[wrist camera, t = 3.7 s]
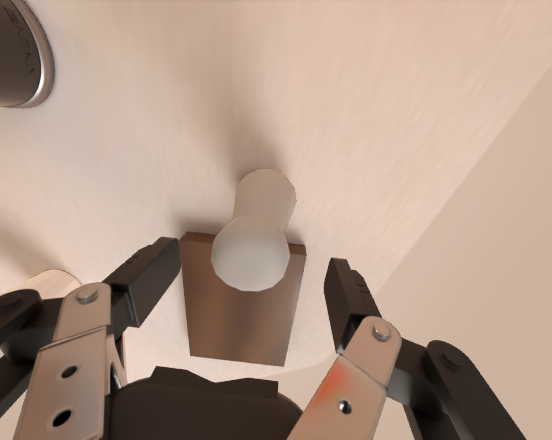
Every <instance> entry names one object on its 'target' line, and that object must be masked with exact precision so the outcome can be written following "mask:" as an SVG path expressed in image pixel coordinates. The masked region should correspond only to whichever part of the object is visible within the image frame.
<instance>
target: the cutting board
mask: <svg viewBox="0 0 552 440" xmlns="http://www.w3.org/2000/svg"><path fill="white" fill-rule="evenodd" d="M216 236H217V235H211V234H202V233H194V232H186V233H185V234H184V235H183V236H182V238H181V239H180V240H179V243H180V254H181V264H182V275H183V285H184V296H185V306H186V317H187V327H188V338H189V348H190V356H195V357H204V358H213V359H221V360H230V361H238V362H247V363H256V364H264V365H273V366H281V367H284V364H285V359H286V354H287V349H288V344H289V339H290V334H291V329H292V325H293V320H294V315H295V310H296V305H297V300H298V295H299V290H300V285H301V280H302V276H303V271H304V266H305V261H306V256H307V255H306V248H305V246H304V245H295V244H288V247H289V253H290V259H289V262H288V265H287V268H286V271H285V274H284V277H283V278H282V279H281V280H280V281H279V282H278V283H276V284H275V285H274V286H273V287H271V288H268V289H264V290H261V291H241V290H239V289H237V288H234V287H232V286H230V285H227V284H226V283H225V282H224V281H223V280H222V279H221V278H220V277H219V276H217V275H216V273H215V270H214V268H213V265H212V263H211V254H212V246H213V242H214V239H215V237H216Z"/></svg>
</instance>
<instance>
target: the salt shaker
mask: <svg viewBox="0 0 552 440" xmlns="http://www.w3.org/2000/svg"><path fill="white" fill-rule="evenodd" d="M296 201H297V200H296V194H295V189H294V187H293V185H292V184H291V182H290V181H289V180H288V178H287V177H286V176H285V175H283V174H282V173H280V172H278V171H276V170H274V169H258V170H256V171H253V172H251V173H249V174H247V175H245V177H244V178H243V179H242V181H241V182H240V183H239V184H238V186H237V191H236V197H235V205H234V212H233V219H232V221H229V222H228V223H227V224H226V225H225V226H224V227H223V228H222V230H221V231H220V232H219V233H218V235H217V236H216V237H215V239H214V242H213V246H212V254H211V263H212V265H213V268H214V270H215V273H216V275H217V276H219V277H220V278H221V279H222V280H223V281H224V282H225V283H226V284H227V285H230V286H232V287H234V288H237V289H239V290H241V291H261V290H264V289H268V288H271V287H273V286H274V285H275V284H276V283H278V282H279V281H280V280H281V279H282V278H283V277H284V274H285V271H286V268H287V265H288V262H289V259H290V253H289V247H288V243H287V238H286V236H285V234H284V231H285V229H286V226H287V224H288V222H289V220H290V218H291V215H292V213H293V211H294V208H295V204H296Z"/></svg>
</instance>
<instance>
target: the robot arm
mask: <svg viewBox="0 0 552 440" xmlns="http://www.w3.org/2000/svg"><path fill="white" fill-rule="evenodd" d="M53 81H54V63H53V57H52V53H51V50H50V46H49V44H48V41H47V38H46V36H45V34H44V32H43V30H42V28H41V26H40V24H39V23H38V21H37V19H36V18H35V16H34V15H33V14H32V12H31V11H30V9H29V8H28V7H27V6H26V4H25V3H24V2H23V1H22V0H0V106H1V107H8V108H30V107H34V106H37V105H39V104H40V103H42V102H43V101H44V100H45V99H46V98H47V97H48V95H49V93H50V91H51V89H52V86H53ZM180 268H181V258H180V248H179V241H178V239H177V238H169V237H160V238H159V239H158V240H157V241H156V242H155V243H153V244H152V245H148V246H146V247H144V248H142V249H140V250H138V251H137V252H136V253H135V254H134V255H132V257H131V258H129V259H128V260H127V261H125V263H123V264H122V265H121V266H120V267H118V268H117V269H116V270H115V271H114V272H113V273H111V274H110V275H109V276H108V277H107V278H106V279H104V280H103V281H102V282H96V283H90V284H86V285H83V286H81V287H78V288H76V289H74V290H73V291H71V292H70V293H69V294H67V295H66V296H65V297H60V298H51V299H42V298H41V296H40V294H39V292H38V291H37V290H35V289H21V290H16V291H12V292H9V293H6V294H3V295H1V296H0V349H1V350H2V352H3V353H4V356H3V357H1V358H0V418H1V416H3V415H4V413H5V412H6V411H7V410H8V409H9V408H10V407H11V406H12V405H13V404H14V403H15V402H16V400H17V399H18V398H19V397H20V396H21V395H22V394H23V393H24V392H25V391H26V389H27V392H26V396H25V399H24V403H23V406H22V410H21V413H20V416H19V420H18V423H17V427H16V430H15V434H14V437H13V440H373V437H374V434H375V431H376V427H377V425H378V422H379V418H380V415H381V412H382V409H383V406H384V403H385V400H386V397H389V398H391V399H393V400H395V401H397V402H400V403H401V404H403V407H404V410H405V413H406V416H407V419H408V422H409V425H410V428H411V430H412V433H413V436H414V439H415V440H526V438H525V437H524V435H523V434H522V432H521V431H520V430H519V428H518V427H517V425H516V424H515V422H514V421H513V420H512V418H511V417H510V415H509V414H508V412H507V411H506V410H505V408H504V407H503V405H502V404H501V403H500V401H499V400H498V398H497V397H496V395H495V394H494V392H493V391H492V390H491V388H490V387H489V385H488V384H487V382H486V381H485V380H484V378H483V377H482V375H481V374H480V372H479V371H478V370H477V368H476V367H475V365H474V364H473V363H472V361H471V360H470V359H469V358H468V357H467V356H466V355H465V354H464V353H463V352H462V351H460V350H459V349H458V348H456V347H454V346H453V345H451V344H449V343H446V342H444V341H439V340H433V341H431V342H429V344H428V345H427V347H423V346H421V345H419V344H416V343H413V342H411V341H408V340H406V339H404V338H402V337H401V335H400V333H399V332H398V330H397V329H396V328H395V327H394V326H393V325H392V324H391V323H389V322H388V321H386V320H384V319H382V317H381V314H380V312H379V310H378V308H377V306H376V304H375V301H374V299H373V297H372V295H371V294H370V291H369V289H368V287H367V284H366V282H365V280H364V278H363V277H362V276H361V275H360V274H359V273H358V272H357V271H356V270H351V269H350V266H349V264H348V261H347V260H346V259H339V258H331V259H330V262H329V266H328V270H327V274H326V277H325V282H324V295H325V300H326V305H327V310H328V315H329V320H330V325H331V330H332V335H333V340H334V345H335V350H336V353H338V354H339V356H338V357H337V359H336V360H335V362H334V363H333V365H332V367H331V368H330V370H329V371H328V373H327V375H326V377H325V378H324V380H323V381H322V383H321V384H320V386H319V388H318V389H317V391H316V393H315V394H314V396H313V397H312V399H311V401H310V402H309V404H308V406H307V407H306V409H305V410H304V412H303V411H302V410H301V409H300V407H298V405H297V404H295V403H294V402H293V401H292V400H291V399H289V398H288V397H286V396H284V395H283V394H281V393H278V382H277V381H270V380H262V379H254V378H243V379H237V380H231V381H224V382H218V383H215V382H211V381H209V380H207V379H205V378H203V377H200V376H198V375H196V374H194V373H192V372H190V371H188V370H183V369H176V368H168V367H160V366H156V368H155V369H154V371H153V373H152V375H151V377H148V378H144V379H140V380H137V381H134V382H132V383H129V384H128V383H127V375H126V357H125V338H124V333H123V332H124V331H125V330H126V328H127V327H128V326H129V327H137V328H139V327H140V326H141V325H142V323H143V322H144V321H145V319H146V318H147V316H148V315H149V314H150V312H151V311H152V310H153V308H154V307H155V305H156V304H157V303H158V301H159V300H160V299H161V297H162V296H163V294H164V293H165V292H166V290H167V289H168V288H169V286H170V285H171V283H172V282H173V281H174V279H175V278H176V277H177V275H178V273H179V271H180Z"/></svg>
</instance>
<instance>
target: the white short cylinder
mask: <svg viewBox="0 0 552 440" xmlns="http://www.w3.org/2000/svg"><path fill="white" fill-rule="evenodd" d="M81 286H82V285H81V284H80V283H79V281H78V280H77V279H76V278H74V277H73V276H72V275H70V274H68V273H66V272H63V271H61V270H54V269H52V270H47V271H45V272H43V273H41V274H39V275H37V276H35V277H33V278H31V279H29V280H27V281H25V282H24V283H22V284H20V285H18V286H16V287H14V288H12V289H10V290H8V291H6V292H4V293H3V294H6V293H9V292H12V291H16V290H21V289H35V290H37V291H38V292H39V294H40V296H41V298H42V299H51V298H60V297H65V296H66V295H67V294H69V293H70V292H71V291H73V290H74V289H76V288H78V287H81ZM3 294H1V295H3ZM1 295H0V296H1Z"/></svg>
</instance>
